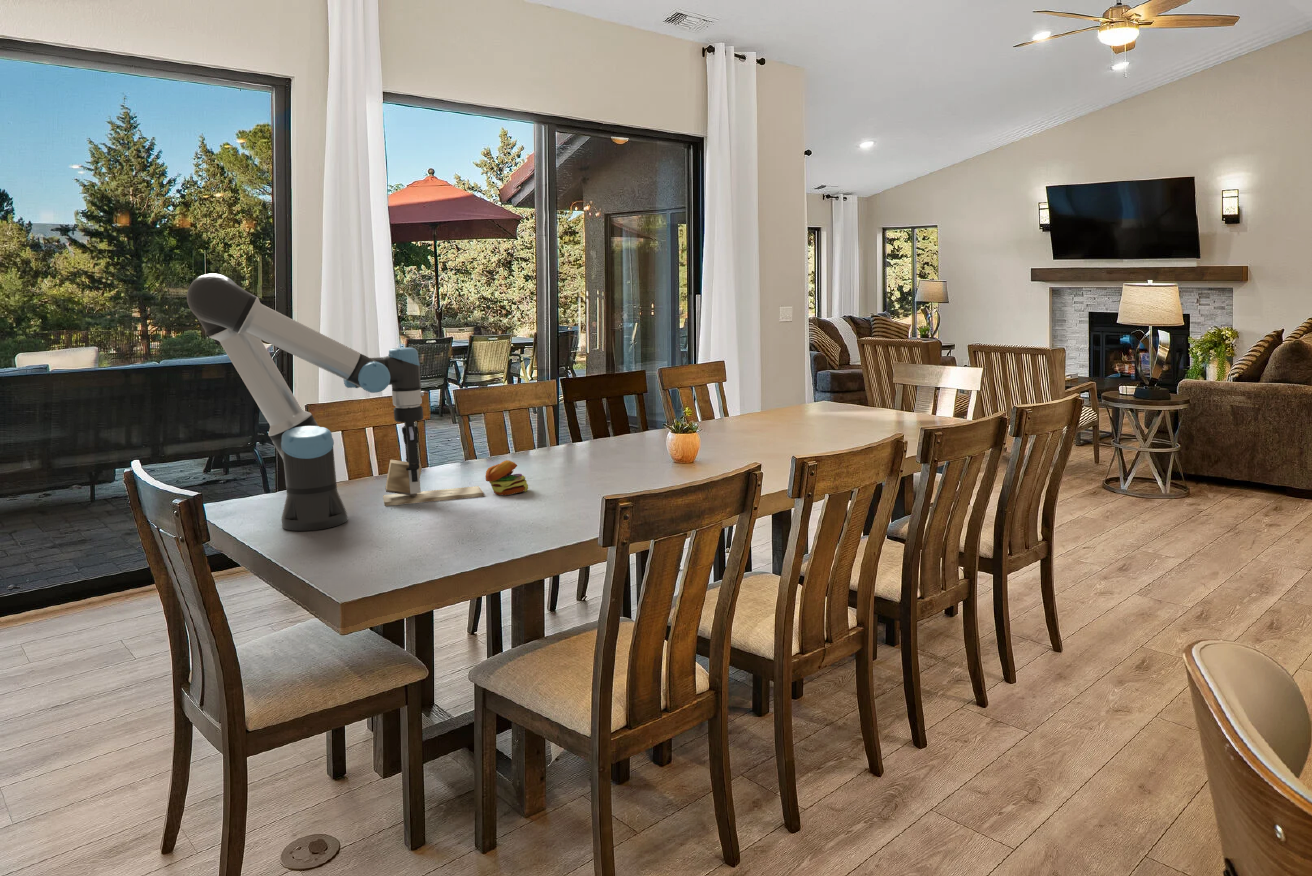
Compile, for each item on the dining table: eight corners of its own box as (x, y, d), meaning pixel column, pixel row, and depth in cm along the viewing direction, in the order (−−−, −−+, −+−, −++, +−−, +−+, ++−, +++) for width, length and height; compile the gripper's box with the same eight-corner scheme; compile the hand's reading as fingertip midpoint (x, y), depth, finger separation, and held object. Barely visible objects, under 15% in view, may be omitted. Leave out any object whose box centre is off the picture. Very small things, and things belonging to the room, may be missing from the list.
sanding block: (386, 492, 245) (391, 462, 244) (385, 488, 249) (390, 459, 248) (416, 496, 247) (421, 467, 247) (415, 492, 252) (420, 463, 251)
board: (384, 506, 243) (384, 502, 243) (383, 498, 251) (383, 495, 251) (483, 496, 251) (483, 492, 251) (479, 489, 259) (478, 485, 259)
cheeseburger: (526, 495, 250) (515, 460, 248) (489, 505, 251) (478, 471, 249) (532, 486, 260) (521, 453, 258) (496, 496, 261) (485, 463, 259)
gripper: (425, 409, 238) (431, 496, 242) (419, 401, 255) (426, 483, 259) (395, 411, 236) (402, 499, 240) (391, 403, 253) (398, 485, 257)
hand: (414, 490), depth 249 cm, fingers closed on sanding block, 5 cm apart
